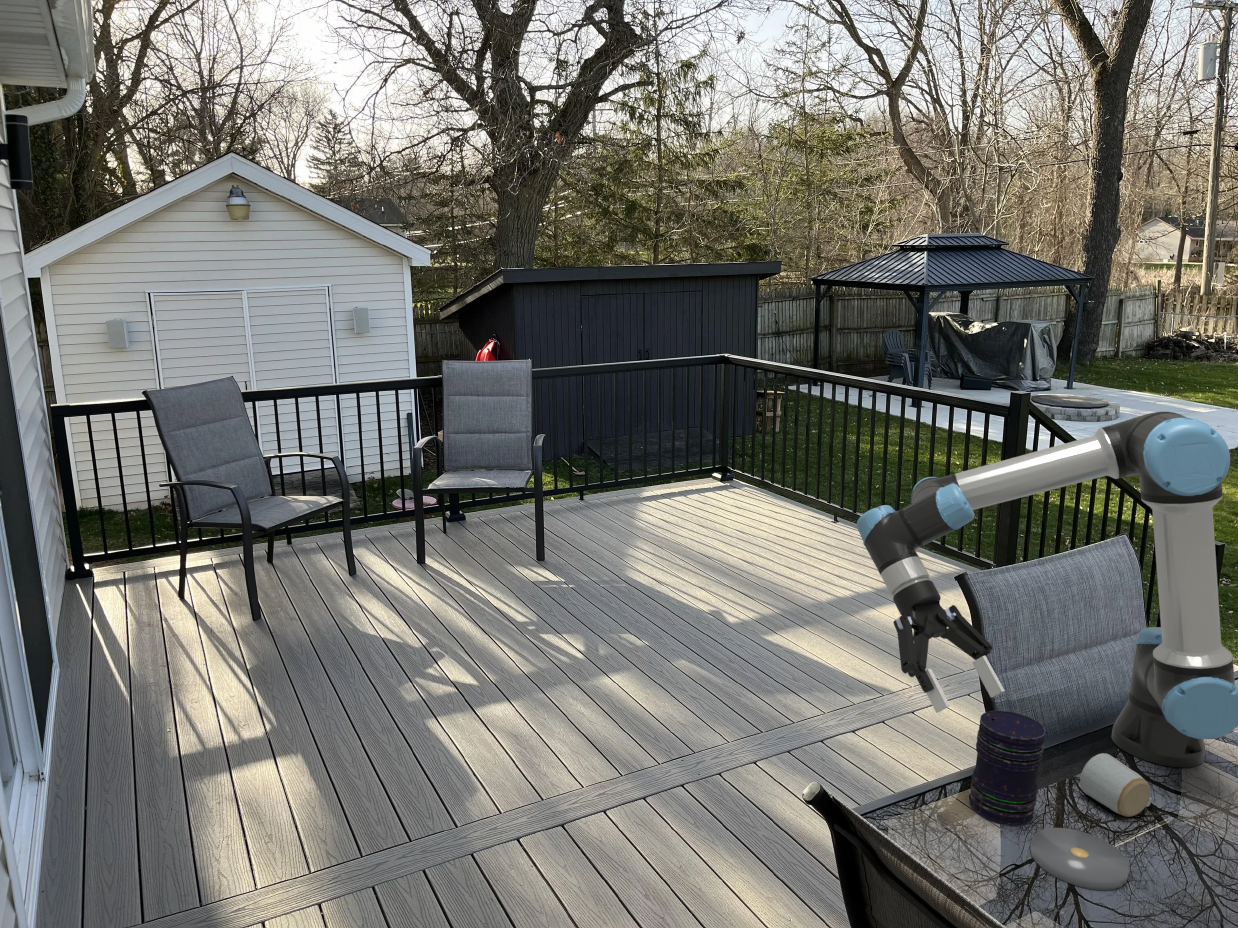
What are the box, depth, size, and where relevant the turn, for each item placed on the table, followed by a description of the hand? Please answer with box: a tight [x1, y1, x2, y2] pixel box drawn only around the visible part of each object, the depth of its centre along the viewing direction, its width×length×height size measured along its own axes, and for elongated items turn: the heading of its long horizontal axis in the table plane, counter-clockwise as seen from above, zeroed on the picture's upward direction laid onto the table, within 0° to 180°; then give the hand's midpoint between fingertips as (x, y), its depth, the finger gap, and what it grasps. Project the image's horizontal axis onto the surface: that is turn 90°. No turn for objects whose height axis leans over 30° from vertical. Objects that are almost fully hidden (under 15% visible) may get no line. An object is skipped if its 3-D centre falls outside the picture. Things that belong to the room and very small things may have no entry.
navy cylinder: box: [969, 710, 1046, 828], centre depth 148 cm, size 10×10×15 cm
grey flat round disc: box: [1030, 827, 1130, 891], centre depth 136 cm, size 13×13×2 cm
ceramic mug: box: [1079, 752, 1153, 818], centre depth 152 cm, size 11×8×8 cm
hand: (971, 701), depth 153 cm, fingers open, 13 cm apart
